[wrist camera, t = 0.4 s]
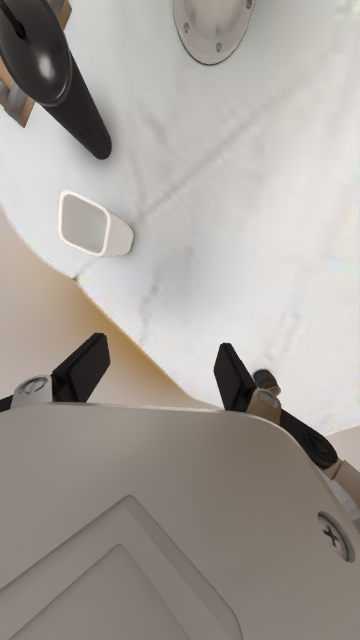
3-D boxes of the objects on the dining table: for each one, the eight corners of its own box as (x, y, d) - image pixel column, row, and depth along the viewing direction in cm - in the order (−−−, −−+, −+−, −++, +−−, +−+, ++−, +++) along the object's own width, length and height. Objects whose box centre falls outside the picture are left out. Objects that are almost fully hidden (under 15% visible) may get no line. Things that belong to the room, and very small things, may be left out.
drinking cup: (70, 136, 26) (-162, -123, 8) (96, 100, 25) (-133, -334, 7) (101, 178, 29) (-25, 52, 11) (126, 149, 27) (23, -61, 9)
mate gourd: (257, 383, 57) (271, 407, 48) (247, 373, 54) (261, 396, 45) (273, 375, 55) (291, 398, 46) (264, 364, 52) (281, 386, 43)
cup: (104, 246, 35) (56, 240, 21) (109, 214, 32) (59, 183, 18) (131, 258, 36) (103, 260, 23) (139, 229, 33) (112, 210, 20)
